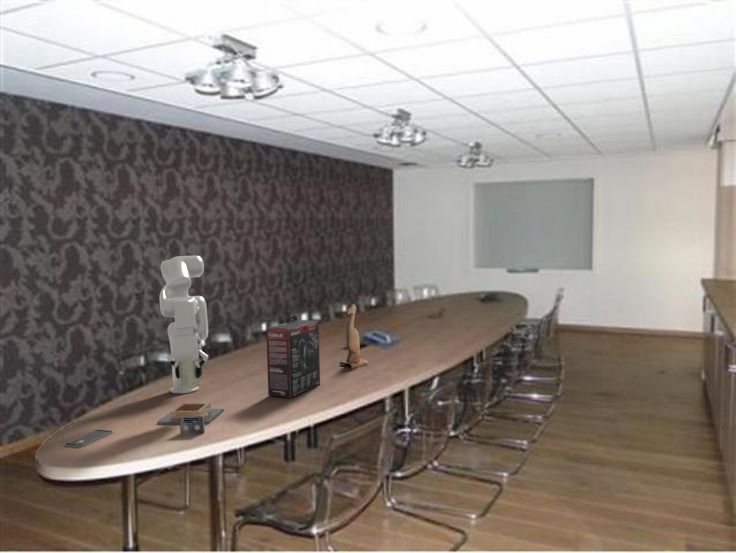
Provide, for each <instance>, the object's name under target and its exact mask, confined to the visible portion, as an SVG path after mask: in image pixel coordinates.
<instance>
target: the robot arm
mask: <svg viewBox="0 0 736 553" xmlns="http://www.w3.org/2000/svg"><path fill="white" fill-rule="evenodd" d="M204 270H205V262H204V260H203V258H202V257H201V256H200V255H178V256H174V257H172V258H170V259H166V260H163V261H162V262H161V264H160V273H161V275H162V277H163V280H164V281H165V282H164V283H165V285H164V286H163V288H161V290H160V293H159V308H160V314H161V315H162V316H163V317H165V318H173V319H174V322H171V323H169V324H168V326H167V337H168V340H169V345H170V354H169V355H168V356H166V359H167V361H168V362H169V363H170V365H171V367H172V368H171V370H172V387H171V388H170V389H169V392H170V393H171V394H174V395H175V394H176V395H178V394H181V395H182V394H189V393H193V392H194V393H195V392H197V391H198V390H199V389H200V385H199V386H198V387H195V388H192V389H188V388H181V387H180V376H179V365H178V364H179V362H182V361H183V359H184V357H191V361H194V363H195V364H196V366H197V368H196V378H201V377H202V375H203V369H202V366H203V365H205V363H206V362H207V361H208V359H209V355H208V354H206V353H205V352H204V351H203V349H202V343H201V341H204V340H206V339H207V338H208V337H209V323H208V322H209V321H208V320H209V319H208V310H207V309H208V308H207V302H206V300H205V298H204V296H201V295H189V289H190V287H191V286H192V278H193V279H194V278H200V277H202V275H203V274H204ZM203 367H204V366H203Z"/></svg>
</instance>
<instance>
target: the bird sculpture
mask: <svg viewBox="0 0 736 553" xmlns="http://www.w3.org/2000/svg"><path fill="white" fill-rule="evenodd" d="M356 312H357V306H356V304H354V303H353V304H351V305H350V307H349V308H348V309H347V311H346V316H349V319H348V322H347V326H346V333H345V335H346V337H345V339H346V342H345V343H346V349H347V351H348V352H347V356H346V360H345V359H344V360H341V361H339V365H340V366H342V365H346V364H348V365H350V366H351V369H355V368H360V367H364V366H369V361H368V360H367V359H363V358H361V348H360V347H361V346H360V335H359V332H358V330H357V328H355V316H356Z"/></svg>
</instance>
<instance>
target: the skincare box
mask: <svg viewBox="0 0 736 553" xmlns="http://www.w3.org/2000/svg"><path fill="white" fill-rule="evenodd" d="M178 365H179V376H180V387H181V388H188V389H192V388H195V387H198V386H199V387H200V379H199V378H200V377H199V378H196V368H197V366H196V364H195V363H194V361H191V357H184V359H183V361H182V362H179V364H178Z"/></svg>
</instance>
